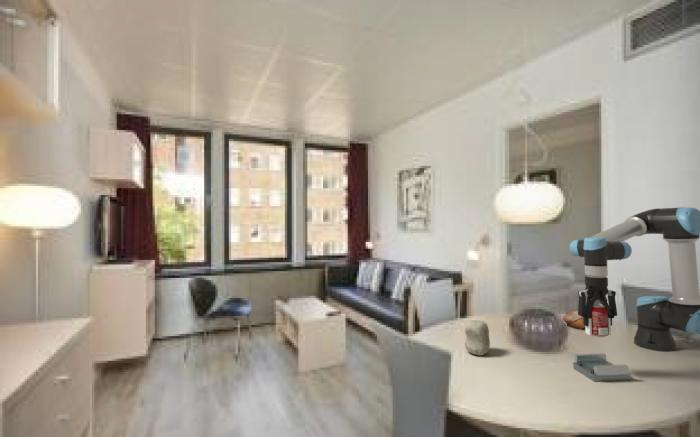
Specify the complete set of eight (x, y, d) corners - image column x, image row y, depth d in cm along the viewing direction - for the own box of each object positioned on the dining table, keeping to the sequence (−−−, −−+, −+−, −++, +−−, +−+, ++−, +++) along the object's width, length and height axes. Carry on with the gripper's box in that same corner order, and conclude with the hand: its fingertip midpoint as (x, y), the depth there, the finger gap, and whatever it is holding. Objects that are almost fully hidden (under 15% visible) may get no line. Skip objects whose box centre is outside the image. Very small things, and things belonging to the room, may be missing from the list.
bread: (590, 335, 188) (589, 316, 188) (555, 325, 206) (554, 308, 205) (608, 328, 195) (607, 310, 195) (572, 319, 213) (571, 303, 213)
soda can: (612, 338, 136) (611, 307, 136) (592, 337, 138) (591, 306, 138) (603, 332, 143) (602, 303, 143) (584, 332, 144) (583, 302, 145)
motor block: (606, 366, 146) (605, 353, 146) (631, 380, 133) (630, 366, 133) (572, 367, 146) (572, 354, 146) (594, 382, 133) (594, 367, 133)
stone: (480, 359, 159) (478, 325, 159) (460, 352, 167) (458, 320, 168) (494, 352, 165) (493, 320, 165) (474, 346, 174) (473, 316, 174)
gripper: (613, 274, 144) (615, 330, 144) (565, 275, 144) (567, 331, 144) (628, 276, 137) (630, 336, 137) (577, 278, 137) (579, 337, 137)
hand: (598, 333), depth 140 cm, fingers closed on soda can, 7 cm apart
